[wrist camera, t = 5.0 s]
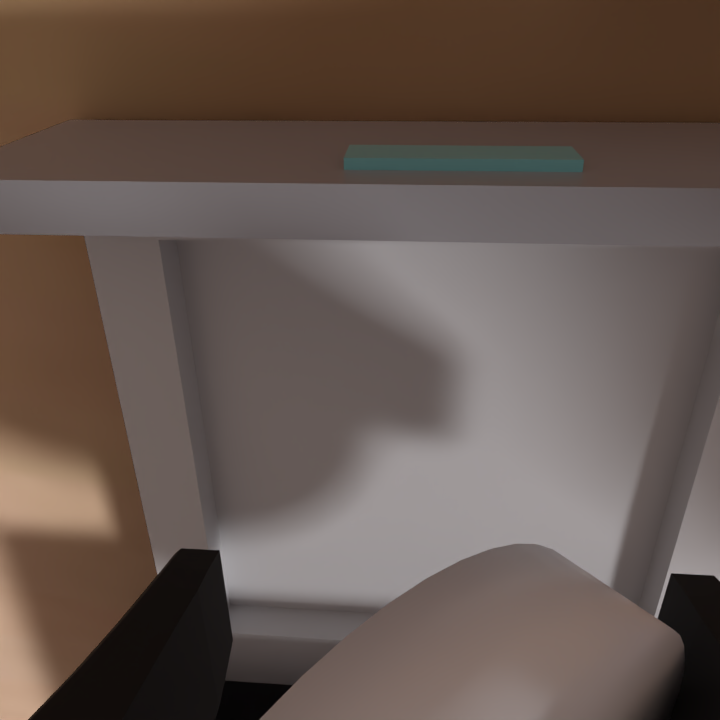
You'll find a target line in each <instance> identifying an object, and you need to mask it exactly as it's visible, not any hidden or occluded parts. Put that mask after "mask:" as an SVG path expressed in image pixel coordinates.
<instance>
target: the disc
mask: <svg viewBox="0 0 720 720" xmlns="http://www.w3.org/2000/svg"><path fill="white" fill-rule="evenodd" d="M684 663H685V652H684V644H683V641H682V639H681V636H680V635H679V634H678V633H677V632H676V631H675V630H673V629H672V628H671V627H669V626H668V625H666V624H665V623H663V622H662V621H660V620H659V619H657V618H655V617H654V616H652V615H651V614H649V613H648V612H646V611H645V610H643V609H642V608H640V607H639V606H637V605H636V604H634V603H633V602H631V601H630V600H628V599H627V598H625V597H624V596H622V595H621V594H619V593H618V592H616V591H615V590H613V589H612V588H610V587H609V586H607V585H606V584H604V583H603V582H601V581H600V580H598V579H597V578H595V577H594V576H592V575H591V574H589V573H588V572H586V571H585V570H583V569H582V568H580V567H579V566H577V565H576V564H574V563H573V562H571V561H570V560H568V559H567V558H565V557H564V556H562V555H561V554H559V553H558V552H556V551H555V550H553V549H551V548H548V547H545V546H541V545H538V544H512V545H507V546H502V547H497V548H492V549H489V550H486V551H484V552H481V553H479V554H476V555H473V556H471V557H468V558H465V559H463V560H460V561H459V562H457V563H455V564H453V565H451V566H449V567H447V568H445V569H443V570H441V571H440V572H438V573H436V574H434V575H432V576H430V577H428V578H426V579H425V580H423V581H422V582H420V583H419V584H417V585H416V586H414V587H413V588H411V589H410V590H408V591H407V592H405V593H404V594H402V595H401V596H399V597H397V598H396V599H394V600H393V601H391V602H390V603H388V604H387V605H386V606H385V607H383V608H382V609H381V610H379V611H378V612H377V613H376V614H374V615H373V616H372V617H370V618H369V619H368V620H367V621H365V622H364V623H363V624H361V625H360V626H359V627H358V628H356V629H355V630H354V631H352V632H351V633H350V634H349V635H347V636H346V637H345V638H344V639H343V640H342V641H340V642H339V643H338V644H337V645H336V646H335V647H334V648H333V649H332V650H330V651H329V652H328V653H327V654H326V655H325V656H324V657H323V658H322V659H320V660H319V661H318V662H317V663H316V664H315V665H314V666H313V667H312V668H310V669H309V670H308V671H307V672H306V673H305V674H304V675H303V676H302V677H301V678H300V679H299V680H298V681H297V682H296V683H295V684H294V685H293V686H292V687H291V688H290V689H289V690H288V691H287V692H286V693H285V694H284V695H283V696H282V697H281V698H280V699H279V700H278V701H277V702H276V703H275V704H274V705H273V706H272V707H271V708H270V709H269V710H268V711H267V712H266V713H265V714H264V715H263V716H262V717H261V718H260V719H259V720H669V719H670V716H671V713H672V711H673V708H674V705H675V702H676V699H677V696H678V694H679V691H680V687H681V682H682V678H683V672H684Z"/></svg>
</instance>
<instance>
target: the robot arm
mask: <svg viewBox="0 0 720 720" xmlns="http://www.w3.org/2000/svg"><path fill="white" fill-rule="evenodd" d="M658 619H659V620H660V621H662V622H663V623H665V624H666V625H668V626H669V627H671V628H672V629H673V630H675V631H676V632H677V633H678V634H679V635H680V636H681V639H682V641H683V644H684V652H685V663H684V672H683V678H682V682H681V687H680V691H679V694H678V696H677V699H676V702H675V705H674V708H673V711H672V713H671V716H670V719H669V720H720V581H719V580H718V579H717V578H716V577H715V576H714V575H695V574H675V573H671V575H670V579H669V582H668V585H667V589H666V592H665V595H664V599H663V602H662V605H661V609H660V612H659V615H658ZM232 643H233V636H232V630H231V623H230V616H229V610H228V603H227V596H226V590H225V583H224V576H223V570H222V563H221V556H220V550H205V549H185V548H181V549H180V550H178V551H177V552H176V553H175V554H174V555H173V556H172V558H171V559H170V560H169V561H168V563H167V564H166V565H165V566H164V568H163V569H162V570H161V571H160V573H159V574H158V575H157V576H156V577H155V579H154V580H153V581H152V582H151V584H150V585H149V586H148V587H147V589H146V590H145V591H144V592H143V593H142V595H141V596H140V597H139V598H138V599H137V601H136V602H135V603H134V604H133V605H132V607H131V608H130V609H129V610H128V611H127V612H126V614H125V615H124V616H123V617H122V618H121V620H120V621H119V622H118V623H117V624H116V625H115V627H114V628H113V629H112V630H111V631H110V632H109V633H108V634H107V636H106V637H105V638H104V639H103V640H102V641H101V642H100V643H99V645H98V646H97V647H96V648H95V649H94V650H93V651H92V652H91V654H90V655H89V656H88V657H87V658H86V659H85V660H84V661H83V663H82V664H81V665H80V666H79V667H78V668H77V669H76V670H75V671H74V672H73V674H72V675H71V676H70V677H69V678H68V679H67V680H66V681H65V682H64V683H63V684H62V685H61V686H60V687H59V688H58V689H57V690H56V691H55V692H54V693H53V694H52V695H51V696H50V698H49V699H48V700H47V701H46V702H45V703H44V704H43V705H42V706H41V707H40V708H39V709H38V710H37V711H36V712H35V713H34V714H33V715H32V716H31V717H30V718H29V719H28V720H215V719H216V716H217V712H218V709H219V705H220V701H221V696H222V692H223V687H224V682H225V678H226V673H227V668H228V663H229V658H230V653H231V648H232Z"/></svg>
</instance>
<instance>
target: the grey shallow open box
mask: <svg viewBox="0 0 720 720" xmlns="http://www.w3.org/2000/svg"><path fill="white" fill-rule="evenodd" d="M0 234H22V235H78V236H84V238H85V243H86V247H87V252H88V256H89V261H90V266H91V270H92V275H93V279H94V284H95V289H96V293H97V298H98V303H99V307H100V312H101V316H102V321H103V326H104V330H105V335H106V340H107V344H108V349H109V353H110V358H111V363H112V367H113V372H114V377H115V381H116V386H117V390H118V395H119V400H120V404H121V409H122V413H123V418H124V423H125V427H126V432H127V437H128V441H129V446H130V450H131V455H132V460H133V464H134V469H135V474H136V478H137V483H138V487H139V492H140V497H141V501H142V506H143V511H144V515H145V520H146V524H147V529H148V534H149V538H150V543H151V547H152V552H153V557H154V561H155V566H156V571H157V575H158V574H159V573H160V571H161V570H162V569H163V568H164V566H165V565H166V564H167V563H168V561H169V560H170V559H171V558H172V556H173V555H174V554H175V553H176V552H177V551H178V550H180V549H181V548H185V549H205V550H220V556H221V563H222V570H223V576H224V583H225V590H226V596H227V603H228V610H229V616H230V623H231V630H232V636H233V643H232V648H231V653H230V658H229V663H228V668H227V673H226V678H225V681H240V682H255V683H269V684H284V685H294V684H295V683H296V682H297V681H298V680H299V679H300V678H301V677H302V676H303V675H304V674H305V673H306V672H307V671H308V670H309V669H310V668H312V667H313V666H314V665H315V664H316V663H317V662H318V661H319V660H320V659H322V658H323V657H324V656H325V655H326V654H327V653H328V652H329V651H330V650H332V649H333V648H334V647H335V646H336V645H337V644H338V643H339V642H340V641H342V640H343V639H344V638H345V637H346V636H347V635H349V634H350V633H351V632H352V631H354V630H355V629H356V628H358V627H359V626H360V625H361V624H363V623H364V622H365V621H367V620H368V619H369V618H370V617H372V616H373V615H374V614H376V613H377V612H378V611H379V610H381V609H382V608H383V607H385V606H386V605H387V604H388V603H390V602H391V601H393V600H394V599H396V598H397V597H399V596H401V595H402V594H404V593H405V592H407V591H408V590H410V589H411V588H413V587H414V586H416V585H417V584H419V583H420V582H422V581H423V580H425V579H426V578H428V577H430V576H432V575H434V574H436V573H438V572H440V571H441V570H443V569H445V568H447V567H449V566H451V565H453V564H455V563H457V562H459V561H460V560H463V559H465V558H468V557H471V556H473V555H476V554H479V553H481V552H484V551H486V550H489V549H492V548H497V547H502V546H507V545H512V544H538V545H541V546H545V547H548V548H551V549H553V550H555V551H556V552H558V553H559V554H561V555H562V556H564V557H565V558H567V559H568V560H570V561H571V562H573V563H574V564H576V565H577V566H579V567H580V568H582V569H583V570H585V571H586V572H588V573H589V574H591V575H592V576H594V577H595V578H597V579H598V580H600V581H601V582H603V583H604V584H606V585H607V586H609V587H610V588H612V589H613V590H615V591H616V592H618V593H619V594H621V595H622V596H624V597H625V598H627V599H628V600H630V601H631V602H633V603H634V604H636V605H637V606H639V607H640V608H642V609H643V610H645V611H646V612H648V613H649V614H651V615H652V616H654V617H655V618H657V619H658V615H659V612H660V609H661V605H662V602H663V599H664V595H665V592H666V589H667V585H668V582H669V579H670V575H671V573H675V574H695V575H714V576H715V577H716V578H717V579H718V580H719V581H720V123H671V122H450V121H229V120H68V121H65V122H63V123H60V124H58V125H55V126H52V127H50V128H47V129H45V130H42V131H40V132H37V133H34V134H32V135H29V136H27V137H24V138H22V139H19V140H16V141H14V142H11V143H9V144H6V145H4V146H1V147H0Z"/></svg>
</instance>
